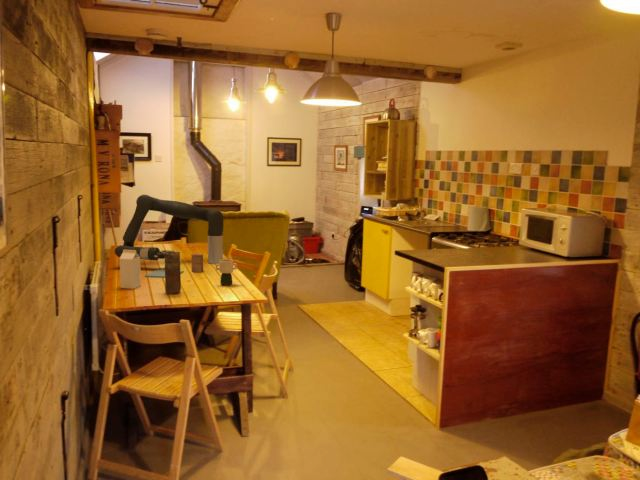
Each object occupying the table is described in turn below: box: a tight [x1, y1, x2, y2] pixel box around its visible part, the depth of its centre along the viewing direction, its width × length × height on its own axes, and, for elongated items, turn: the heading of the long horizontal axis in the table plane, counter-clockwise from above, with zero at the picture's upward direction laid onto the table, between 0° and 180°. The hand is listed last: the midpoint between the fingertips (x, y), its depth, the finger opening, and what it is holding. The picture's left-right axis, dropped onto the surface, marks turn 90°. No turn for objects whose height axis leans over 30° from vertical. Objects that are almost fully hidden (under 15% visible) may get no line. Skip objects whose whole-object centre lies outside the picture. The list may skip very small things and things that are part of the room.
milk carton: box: [119, 249, 142, 290], centre depth 270 cm, size 7×7×19 cm
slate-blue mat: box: [144, 269, 185, 279], centre depth 301 cm, size 16×16×1 cm
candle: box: [164, 251, 182, 295], centre depth 261 cm, size 8×7×20 cm
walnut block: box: [191, 253, 204, 274], centre depth 309 cm, size 5×5×10 cm
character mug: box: [215, 258, 238, 286], centre depth 279 cm, size 11×7×13 cm, turn 107°
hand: (176, 255), depth 310 cm, fingers open, 8 cm apart
